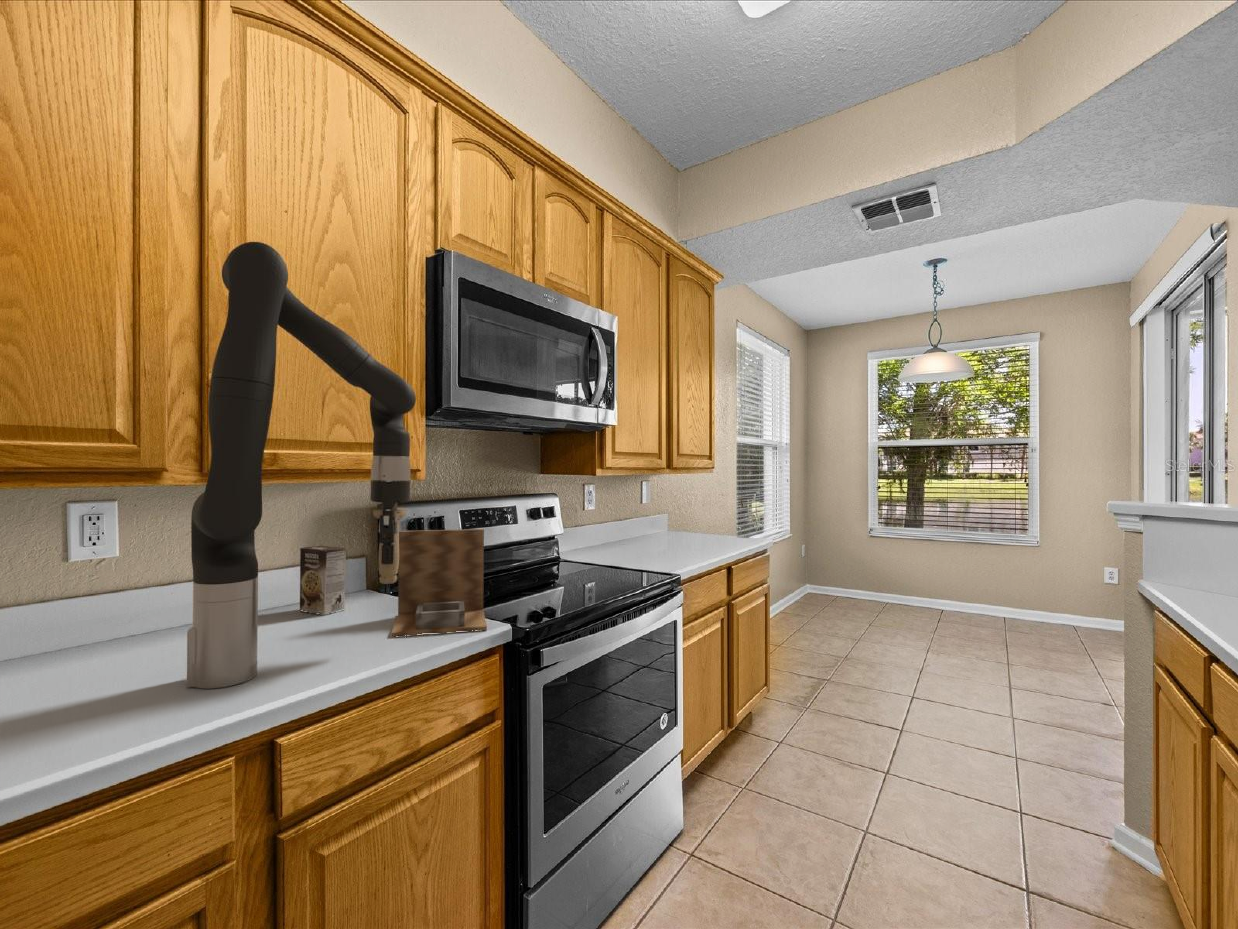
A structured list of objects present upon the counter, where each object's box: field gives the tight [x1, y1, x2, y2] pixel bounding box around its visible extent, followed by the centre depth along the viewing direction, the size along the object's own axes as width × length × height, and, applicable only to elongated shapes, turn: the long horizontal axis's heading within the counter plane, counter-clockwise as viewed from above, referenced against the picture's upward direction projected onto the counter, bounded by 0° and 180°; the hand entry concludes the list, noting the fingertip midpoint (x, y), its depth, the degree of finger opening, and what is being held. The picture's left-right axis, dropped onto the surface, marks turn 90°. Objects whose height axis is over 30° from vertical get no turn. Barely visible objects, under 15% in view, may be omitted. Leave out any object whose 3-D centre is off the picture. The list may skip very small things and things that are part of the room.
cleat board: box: [391, 528, 488, 638], centre depth 134 cm, size 20×19×21 cm
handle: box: [373, 508, 407, 585], centre depth 117 cm, size 5×6×15 cm
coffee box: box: [299, 544, 347, 616], centre depth 144 cm, size 9×6×16 cm
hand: (388, 561), depth 116 cm, fingers closed on handle, 4 cm apart
